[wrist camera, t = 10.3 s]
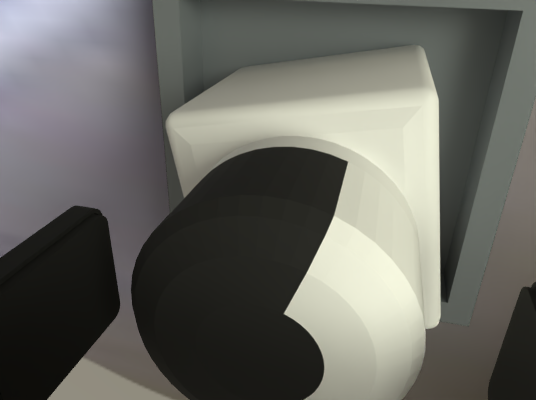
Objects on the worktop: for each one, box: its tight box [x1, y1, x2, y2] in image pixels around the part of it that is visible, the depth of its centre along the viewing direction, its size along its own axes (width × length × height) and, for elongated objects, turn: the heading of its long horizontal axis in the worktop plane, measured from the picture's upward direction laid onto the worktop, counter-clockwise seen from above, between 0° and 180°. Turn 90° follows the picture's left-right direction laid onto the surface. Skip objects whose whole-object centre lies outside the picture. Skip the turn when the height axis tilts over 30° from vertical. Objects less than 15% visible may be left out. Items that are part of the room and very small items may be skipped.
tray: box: [152, 0, 536, 327], centre depth 19 cm, size 13×13×3 cm
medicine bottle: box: [131, 45, 441, 400], centre depth 14 cm, size 7×7×12 cm
